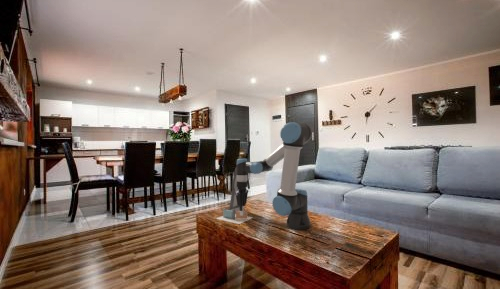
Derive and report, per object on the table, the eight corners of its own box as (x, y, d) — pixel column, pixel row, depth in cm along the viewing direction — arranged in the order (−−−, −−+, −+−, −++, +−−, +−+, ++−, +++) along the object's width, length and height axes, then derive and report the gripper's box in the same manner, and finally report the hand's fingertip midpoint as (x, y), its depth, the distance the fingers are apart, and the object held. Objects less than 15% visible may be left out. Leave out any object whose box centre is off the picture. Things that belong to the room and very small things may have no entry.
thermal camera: (243, 212, 179) (242, 167, 179) (226, 212, 180) (225, 167, 180) (245, 208, 191) (244, 165, 191) (229, 208, 192) (228, 165, 192)
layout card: (253, 217, 167) (253, 217, 167) (239, 224, 154) (239, 223, 154) (230, 213, 179) (230, 212, 179) (216, 218, 166) (216, 218, 166)
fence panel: (247, 218, 164) (247, 209, 164) (247, 218, 163) (247, 210, 163) (236, 218, 165) (236, 209, 165) (235, 218, 163) (235, 210, 163)
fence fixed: (235, 219, 164) (235, 209, 164) (234, 219, 163) (233, 209, 163) (224, 216, 171) (224, 207, 171) (222, 217, 169) (222, 207, 169)
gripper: (243, 179, 170) (242, 212, 169) (232, 181, 159) (231, 216, 159) (251, 180, 166) (251, 214, 165) (240, 182, 155) (240, 218, 155)
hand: (241, 215), depth 162 cm, fingers closed
